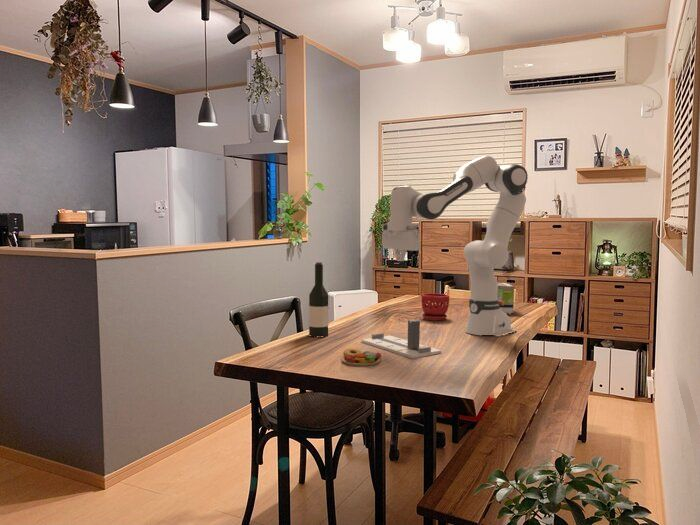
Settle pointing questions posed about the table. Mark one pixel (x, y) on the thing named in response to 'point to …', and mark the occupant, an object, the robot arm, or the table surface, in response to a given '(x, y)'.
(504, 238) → the robot arm
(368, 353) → the toy food set
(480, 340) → the table surface
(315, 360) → the table surface
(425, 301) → the plant pot
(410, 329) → the fader tab
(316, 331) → the wine bottle
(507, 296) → the tea box
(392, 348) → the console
